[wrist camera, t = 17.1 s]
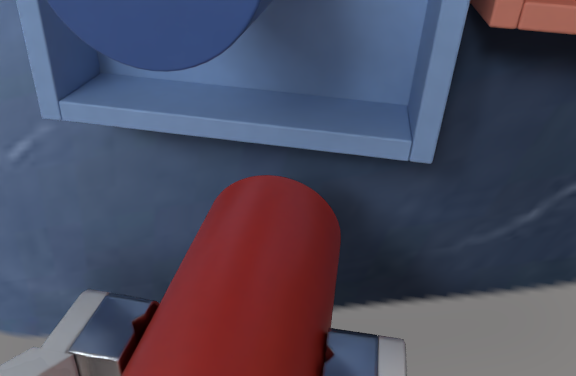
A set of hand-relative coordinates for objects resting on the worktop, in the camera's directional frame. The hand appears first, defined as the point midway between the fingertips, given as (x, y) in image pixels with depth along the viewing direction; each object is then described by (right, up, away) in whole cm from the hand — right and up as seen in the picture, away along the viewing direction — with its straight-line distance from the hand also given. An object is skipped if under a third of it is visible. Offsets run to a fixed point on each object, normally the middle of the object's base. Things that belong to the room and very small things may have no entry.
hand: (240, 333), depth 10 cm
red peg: (+1, +2, +3) cm, 4 cm away
